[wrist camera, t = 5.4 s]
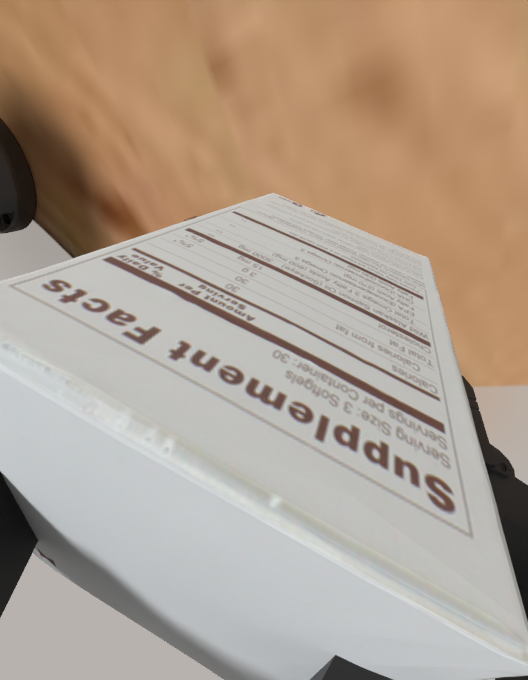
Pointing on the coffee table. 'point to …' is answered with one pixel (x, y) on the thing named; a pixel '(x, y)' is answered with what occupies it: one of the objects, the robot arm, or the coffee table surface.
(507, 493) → the robot arm
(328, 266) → the supplement box
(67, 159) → the coffee table surface
